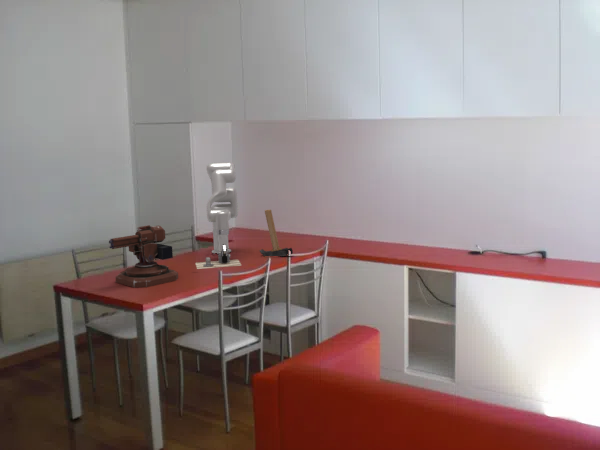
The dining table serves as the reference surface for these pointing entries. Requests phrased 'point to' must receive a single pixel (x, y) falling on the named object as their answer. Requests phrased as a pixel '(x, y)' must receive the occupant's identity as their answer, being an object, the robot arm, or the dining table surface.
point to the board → (216, 264)
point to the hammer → (273, 239)
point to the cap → (221, 258)
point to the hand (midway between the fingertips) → (224, 261)
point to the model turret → (145, 258)
